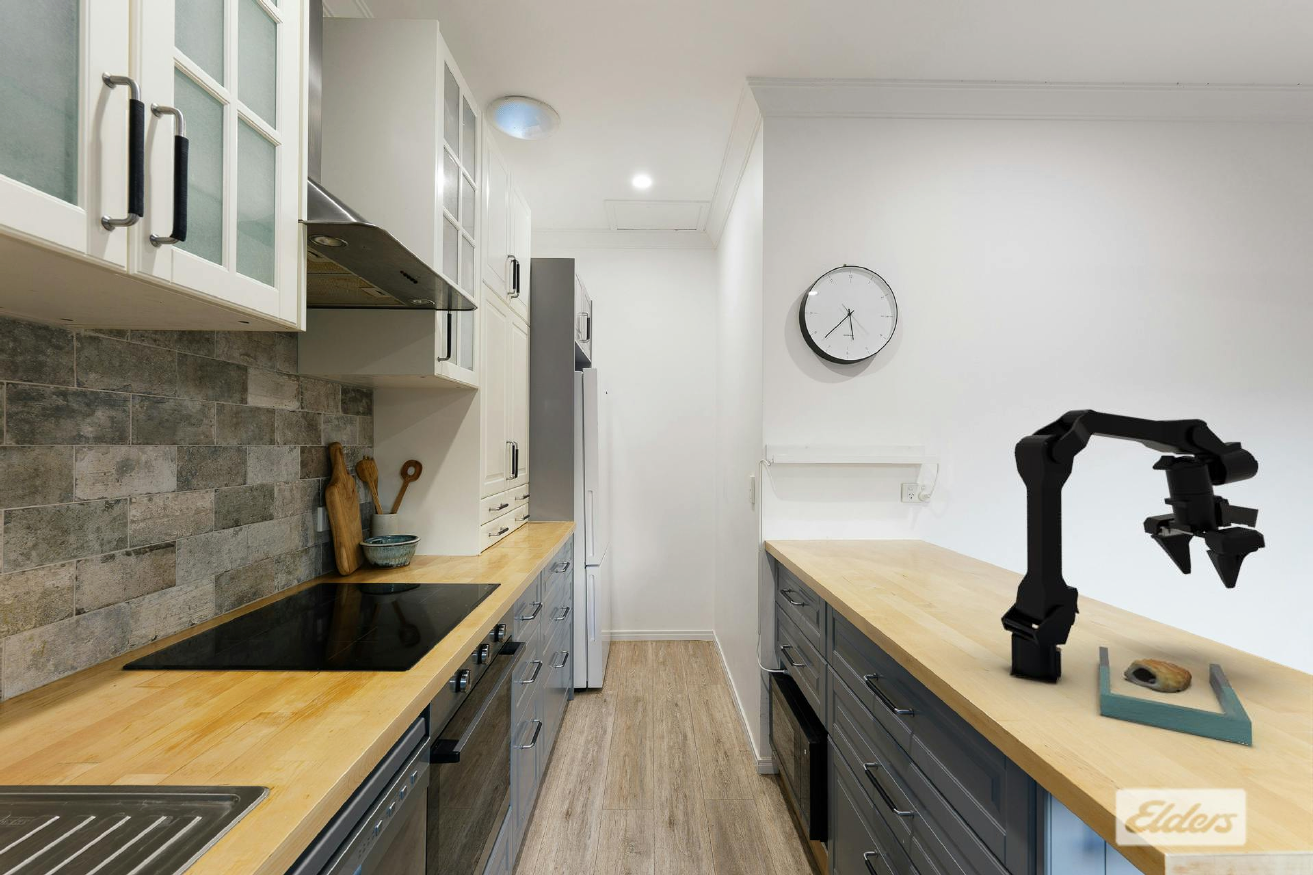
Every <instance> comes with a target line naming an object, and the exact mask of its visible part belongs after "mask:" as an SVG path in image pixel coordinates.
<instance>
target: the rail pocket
mask: <svg viewBox="0 0 1313 875" xmlns="http://www.w3.org/2000/svg"><path fill="white" fill-rule="evenodd" d="M1098 651H1099V655H1098V656H1099V657H1098V658H1099V661H1098V662H1099V691H1100V693H1099V694H1100V700H1099V701H1100V716H1105V717H1108V718H1113V719H1118V720H1121V721H1122V720H1124V721H1127V722H1133V723H1137V724H1138V723H1139V724H1142V725H1143V724H1144V725H1147V726H1151V727H1157V728H1162V729H1166V730H1171V731H1176V732H1182V733H1187V734H1192V735H1196V736H1201V737H1205V738H1210V739H1215V738H1216V739H1215V740H1219V739H1220V740H1221V741H1224V740H1228V741H1227V742H1229V741H1232V742H1231V743H1234V742H1240V743H1244V744H1248V745H1247V746H1249V745H1252V746H1253V727H1252V726H1253V725H1252V723H1253V722H1252V720H1251V719H1250V717H1249V715H1248V713H1247V712H1246V709H1245V708H1244V706H1243V704H1242V703H1241V701H1240V699H1239V697H1238V695H1237V694H1236V692H1235V690H1234V688H1233V686H1232V685H1231V683H1230V681H1229V679H1228V677H1227V675H1226V674H1225V672H1224V671H1223V669H1222V667H1221V665H1220V664H1218V663H1217V664H1216V663H1211V662H1209V663H1208V664H1209V665H1208V667H1209V671H1208V674H1209V678H1208V679H1209V684H1210V685H1211V686H1210V687H1212V690H1213V692H1214V694H1215V696H1216V695H1217V696H1216V698H1217V697H1218V698H1217V700H1218V699H1219V701H1220V703H1219V704H1221V705H1220V706H1222V707H1221V708H1223V709H1222V711H1223V710H1224V711H1223V713H1221V712H1220V713H1219V712H1215V711H1211V710H1210V711H1209V710H1204V709H1201V708H1200V709H1198V708H1193V707H1189V706H1183V705H1178V704H1174V703H1173V704H1172V703H1167V702H1162V701H1161V702H1160V701H1158V700H1157V701H1156V700H1151V699H1145V698H1140V697H1134V696H1131V695H1126V694H1125V695H1123V694H1119V693H1114V692H1112V691H1111V688H1112V687H1111V678H1110V677H1111V675H1110V663H1109V662H1110V660H1109V647H1106V646H1105V647H1104V646H1100V645H1099V647H1098ZM1219 701H1218V702H1219ZM1224 712H1225V713H1224ZM1244 744H1243V745H1244Z"/></svg>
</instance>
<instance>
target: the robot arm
mask: <svg viewBox="0 0 1313 875" xmlns="http://www.w3.org/2000/svg"><path fill="white" fill-rule="evenodd" d="M1092 436H1095V437H1103V438H1110V439H1115V440H1116V439H1118V440H1125V441H1131V442H1135V443H1136V442H1137V443H1139V444H1142V445H1144V447H1145V448H1148V449H1152V450H1154V451H1157V452H1160V453H1164V455H1163V454H1162V455H1161V456H1160V458H1159V460H1157V461H1156V462H1155V463H1154V464H1153V466H1152V470H1154V471H1165V477H1166V483H1167V487H1168V493H1169V497H1166V498H1164V499H1163V501H1164V504H1165V505H1169V506H1171V508H1172V512H1171V513H1166V514H1159V515H1153V516H1148V517H1146V518H1145V519H1144V521H1143V522H1142V525H1143V530H1144V533H1145V534H1149V535H1150V538H1151V539H1153V540H1154V541H1155V542H1156V543H1157V544H1158V546H1160V547H1161V549H1162V550H1163V551H1164V552H1165V553H1166V554H1167V556H1168V557H1169V558H1170V559H1171V560H1172V562H1173V563H1174V565H1175V566H1176V567H1177V568H1178V569H1179V570H1180V572H1181V573H1182V574H1183V575H1191V574H1192V560H1191V547H1190V542H1191V541H1192V540H1193V538H1194V537H1197V538H1199V539H1200V538H1201V539H1204V543H1205V545H1206V547H1208V549H1207V550H1205V551H1206V554H1207V555H1208V558H1209V560H1210V562H1211V564H1212V565H1213V567H1214V569H1215V571H1216V572H1217V575H1218V576H1219V578H1220V581H1221V582H1222V583H1223V585H1224V587H1225V589H1229V590H1230V589H1234V588H1236V584H1237V581H1238V578H1239V575H1240V571H1241V567H1242V564H1243V563H1244V559H1245V558H1246V557H1248V555H1250V554H1251V553H1255V552H1258V551H1259V549H1264V548H1266V542H1265V536H1264V534H1263V533H1261V532H1260V531H1258V530H1256V529H1253V528H1256V525H1257V519H1258V514H1259V512H1260V511H1259V508H1252V507H1245V506H1239V505H1233V504H1230V503H1229V499H1228V498H1225V497H1222V495H1217V494H1215V492H1214V487H1217V486H1223V485H1224V486H1225V485H1229V484H1232V483H1237V482H1241V481H1246V480H1250V479H1253V477H1255V476H1256V475H1257V473H1258V471H1259V461H1258V460H1257V459H1256V458H1255V456H1254V455H1253V454H1252V453H1251V452H1250V451H1248V450H1247V449H1244V448H1243V447H1242V446H1243V445H1242V442H1241V441H1226V442H1224V441H1222V439H1221V438H1220V437H1218V436H1217V434H1216V433H1215V432H1213V430H1211V429H1210V428H1209V426H1208V422H1206V421H1205V420H1203V419H1200V418H1186V419H1185V418H1184V419H1163V420H1155V419H1148V418H1141V417H1135V416H1134V417H1133V416H1130V415H1129V416H1128V415H1122V414H1115V413H1108V412H1100V411H1096V410H1094V409H1091V408H1088V409H1086V408H1085V409H1073V410H1071V409H1070V410H1068V411H1066V412H1065V413H1063V414H1062V415H1061V416H1060V417H1058V418H1057V419H1055V420H1054V421H1052V422H1051V423H1048V424H1046V425H1045V426H1042V427H1041V428H1040V429H1037V430H1036V431H1034V432H1033V433H1032V434H1031V435H1026V436H1024V437H1022V438H1021V439H1020V440H1019V441H1018V442H1016V443H1015V446H1014V459H1015V465H1016V470H1017V471H1016V472H1017V473H1018V475H1019V477H1020V479H1021V480H1022V482H1023V483H1024V485H1025V488H1026V553H1027V554H1026V559H1027V560H1026V561H1027V562H1026V563H1027V564H1026V573H1025V574H1024V577H1023V578H1022V579H1021V581H1020V583H1019V584H1018V586H1017V590H1016V591H1017V592H1016V597H1015V598H1016V599H1015V602H1014V603H1013V604H1012V606H1011V607H1010V608H1009V609H1008V610H1007V611H1005V613H1004V614H1003V615H1002V616H1001V617H1000V622H1001V624H1002V627H1003V629H1004V631H1008V632H1011V636H1010V638H1011V640H1010V642H1011V644H1010V647H1011V669H1010V670H1009V675H1010V676H1013V677H1016V678H1017V677H1018V678H1024V679H1029V680H1034V681H1038V682H1039V681H1040V682H1044V683H1050V684H1058V679H1059V678H1062V648H1061V647H1058V646H1061V645H1066V644H1067V641H1068V638H1069V635H1070V633H1071V629H1072V626H1074V624H1075V622H1076V615H1078V614H1080V610H1079V607H1078V598H1079V591H1078V588H1077V587H1075V586H1072V585H1068V584H1067V582H1066V581H1065V579H1064V577H1063V530H1062V529H1063V528H1062V527H1063V526H1062V525H1063V523H1062V522H1063V517H1062V516H1063V514H1062V513H1063V512H1062V508H1063V507H1062V505H1063V504H1062V500H1063V499H1062V491H1063V488H1064V485H1065V484H1066V482H1067V481H1068V479H1069V477H1070V476H1071V475H1072V473H1073V465H1074V461H1075V457H1076V456H1077V455H1079V454H1080V452H1082V451H1083V450H1084V449H1085V448H1086V447H1087V445H1088V444H1089V441H1090V439H1091V437H1092ZM1165 453H1166V454H1167V453H1168V454H1169V453H1172V454H1173V455H1165ZM1175 455H1178V456H1177V457H1176V456H1175ZM1179 455H1180V456H1179ZM1232 524H1235V525H1243V526H1247V527H1248V528H1247V527H1243V526H1232ZM1035 626H1036V627H1035Z"/></svg>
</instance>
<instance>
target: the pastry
mask: <svg viewBox="0 0 1313 875" xmlns="http://www.w3.org/2000/svg"><path fill="white" fill-rule="evenodd" d="M1123 674H1124V677H1125V678H1126V679H1127V681H1128V682H1130V683H1132V684H1135V685H1139V686H1141V687H1144V688H1145V687H1146V688H1149V689H1152V690H1155V691H1158V692H1164V691H1165V693H1171V692H1177V691H1178V690H1179V691H1184V690H1185V689H1187V688H1188V687H1189V686H1191V684H1192V678H1193V676H1192V674H1191V672H1190V671H1189V670H1187V669H1185V668H1183V667H1181V666H1178V665H1176V664H1174V663H1170V662H1166V661H1162V660H1156V659H1152V658H1149V659H1147V658H1144V659H1139V660H1137V659H1136V660H1134V661H1132V662H1131V664H1130V665H1129V666H1128V667H1127V668H1126V670H1124V672H1123Z"/></svg>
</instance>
